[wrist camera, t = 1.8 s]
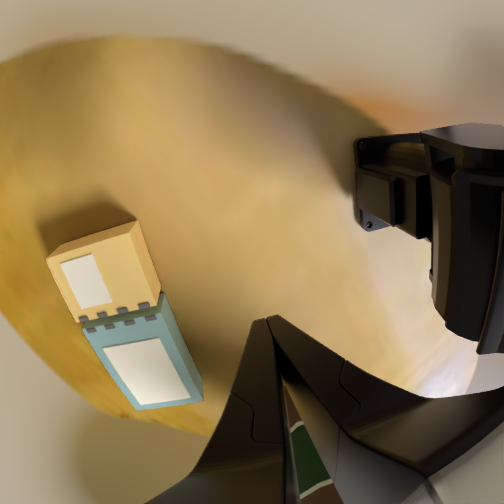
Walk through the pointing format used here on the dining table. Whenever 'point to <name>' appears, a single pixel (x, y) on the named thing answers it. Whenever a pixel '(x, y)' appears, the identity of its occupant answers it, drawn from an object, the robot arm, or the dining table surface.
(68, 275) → the stub
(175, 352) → the pale blue pin-sided card
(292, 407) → the beer bottle
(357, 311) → the dining table surface
